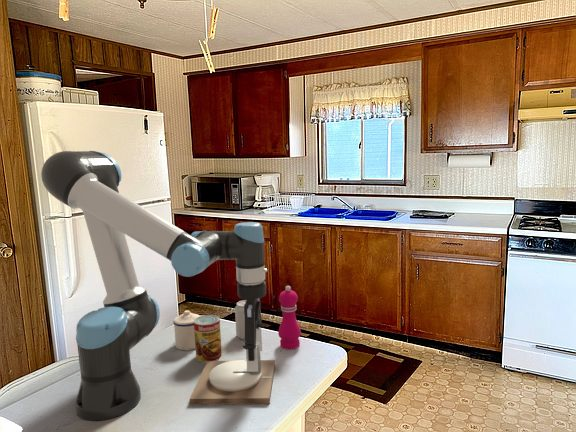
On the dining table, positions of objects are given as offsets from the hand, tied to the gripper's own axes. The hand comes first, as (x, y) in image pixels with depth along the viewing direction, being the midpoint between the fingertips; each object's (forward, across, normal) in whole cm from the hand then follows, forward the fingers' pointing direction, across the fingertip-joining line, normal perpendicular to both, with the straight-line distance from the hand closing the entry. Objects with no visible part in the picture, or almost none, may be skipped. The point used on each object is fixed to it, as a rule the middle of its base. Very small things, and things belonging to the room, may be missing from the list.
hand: (255, 360), depth 115 cm
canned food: (+7, +16, +16) cm, 24 cm away
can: (+7, +31, +6) cm, 32 cm away
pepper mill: (+7, +23, -8) cm, 25 cm away
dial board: (+6, 0, +6) cm, 8 cm away
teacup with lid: (+7, +26, +26) cm, 37 cm away
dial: (+5, 0, +5) cm, 7 cm away
